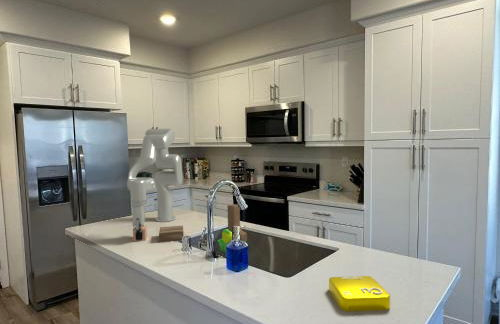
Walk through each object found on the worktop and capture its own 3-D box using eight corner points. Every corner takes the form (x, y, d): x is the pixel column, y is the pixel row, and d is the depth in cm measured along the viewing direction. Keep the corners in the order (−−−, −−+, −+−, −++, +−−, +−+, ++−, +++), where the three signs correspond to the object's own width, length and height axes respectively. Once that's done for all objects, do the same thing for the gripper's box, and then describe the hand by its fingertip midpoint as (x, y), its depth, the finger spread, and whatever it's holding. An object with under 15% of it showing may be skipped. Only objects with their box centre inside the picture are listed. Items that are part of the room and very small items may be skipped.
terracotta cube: (135, 237, 168) (134, 226, 168) (147, 237, 169) (146, 225, 169) (133, 241, 162) (132, 229, 162) (145, 240, 163) (145, 228, 163)
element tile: (371, 287, 108) (371, 273, 107) (392, 311, 93) (392, 295, 93) (327, 289, 107) (327, 275, 107) (341, 313, 92) (341, 297, 92)
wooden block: (247, 241, 158) (246, 205, 157) (241, 244, 155) (240, 207, 153) (234, 238, 164) (233, 203, 163) (227, 240, 160) (227, 205, 159)
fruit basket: (246, 252, 143) (246, 227, 142) (232, 258, 136) (231, 232, 136) (229, 247, 151) (228, 223, 150) (215, 252, 144) (214, 227, 143)
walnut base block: (160, 236, 171) (160, 227, 171) (183, 234, 174) (182, 225, 173) (159, 243, 159) (158, 233, 159) (183, 241, 162) (183, 231, 162)
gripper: (134, 200, 172) (135, 233, 174) (127, 207, 155) (129, 243, 157) (148, 200, 174) (150, 232, 175) (143, 206, 157) (145, 242, 158)
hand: (140, 237), depth 166 cm, fingers closed on terracotta cube, 6 cm apart
